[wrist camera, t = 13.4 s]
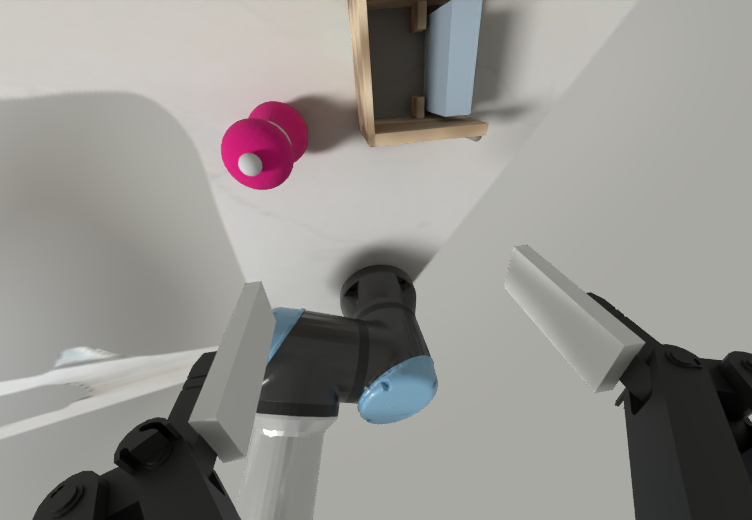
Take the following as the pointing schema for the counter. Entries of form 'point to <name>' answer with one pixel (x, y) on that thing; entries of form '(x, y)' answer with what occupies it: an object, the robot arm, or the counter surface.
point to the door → (451, 57)
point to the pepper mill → (265, 145)
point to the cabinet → (418, 123)
